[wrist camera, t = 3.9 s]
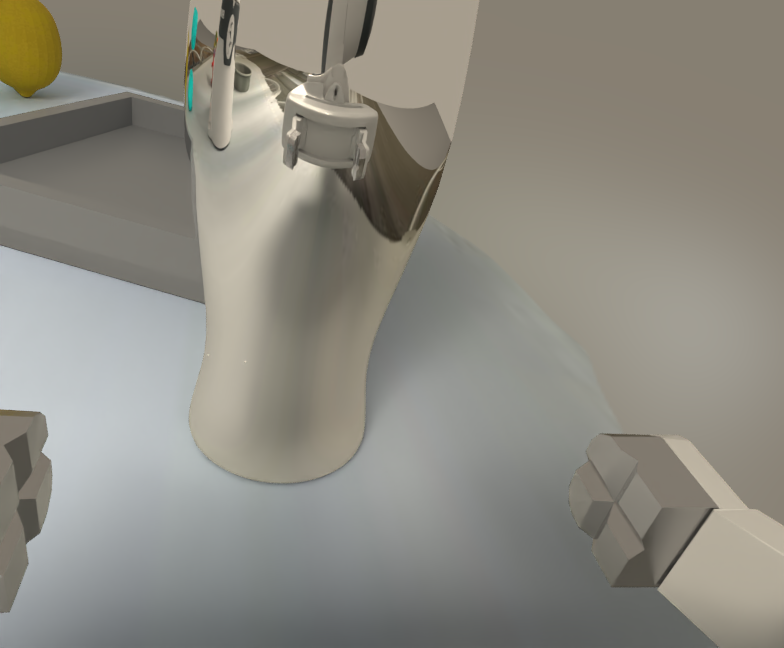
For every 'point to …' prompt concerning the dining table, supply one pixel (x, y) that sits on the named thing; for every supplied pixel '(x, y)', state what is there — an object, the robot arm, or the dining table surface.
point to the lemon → (28, 46)
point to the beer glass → (308, 208)
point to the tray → (102, 190)
